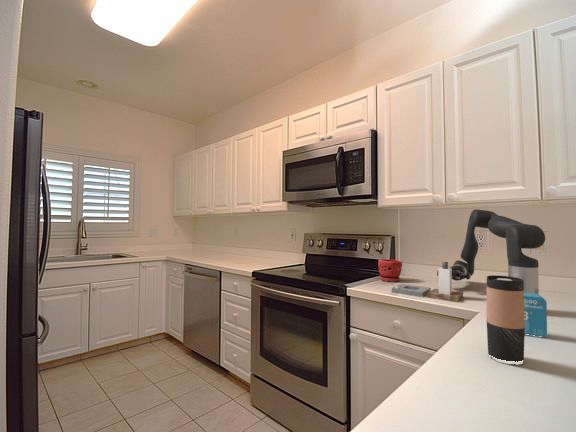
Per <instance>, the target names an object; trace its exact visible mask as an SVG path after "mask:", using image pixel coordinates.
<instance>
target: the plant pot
mask: <svg viewBox="0 0 576 432" xmlns="http://www.w3.org/2000/svg"><path fill="white" fill-rule="evenodd" d="M377 264H378V273H379V274H380V275H379V276H378V278H379V279H380V280H381V281H384V282H392V283H393V282H394V283H395V282H398V281H400V280H401V278H400V275H401V273H402V267H403V261H402V260H399V259H386V258H384V259H383V258H380V259H378V263H377Z"/></svg>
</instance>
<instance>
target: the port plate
mask: <svg viewBox="0 0 576 432" xmlns="http://www.w3.org/2000/svg"><path fill="white" fill-rule="evenodd" d="M431 290H432V289H431V286H430V287H428V286H422V285H420V286H419V285H415V284H407V283H400V284H398V285H396V286H394V287H391V293H395V294H401V295H406V296H407V295H408V296H413V297H419V298H423V297H425V296H426V295H427V293H428V292H430V291H431Z"/></svg>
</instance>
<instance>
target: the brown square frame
mask: <svg viewBox="0 0 576 432" xmlns="http://www.w3.org/2000/svg"><path fill="white" fill-rule="evenodd" d="M426 295H427V298H430V299H434V300H435V299H437V300H443V301H449V302H454V303H459V301H460V300H461V299H462V298H464V292H463V291H462V292H461V291H456V290H455V291H454V290H452V295H447V294H440V293H439V288H433V289H431V291H430V292H428V293H427V294H426Z"/></svg>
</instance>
